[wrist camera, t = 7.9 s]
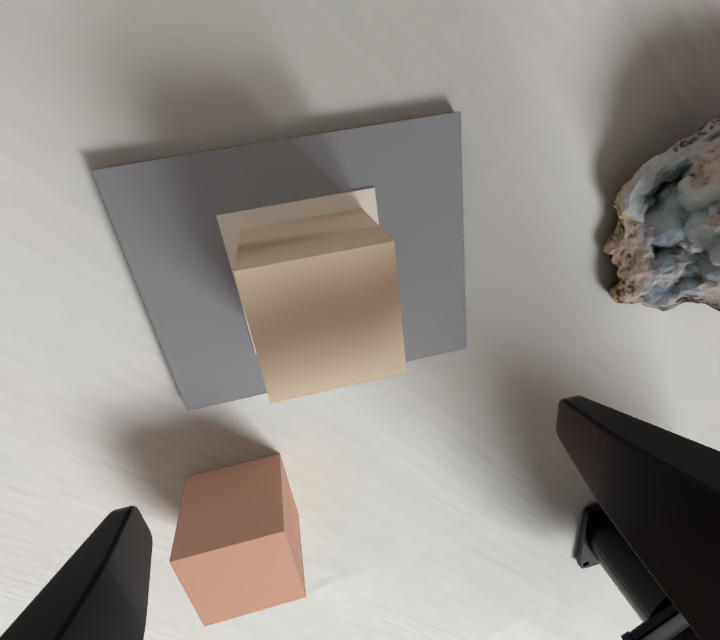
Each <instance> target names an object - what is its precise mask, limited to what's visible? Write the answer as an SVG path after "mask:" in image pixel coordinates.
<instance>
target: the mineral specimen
mask: <svg viewBox="0 0 720 640" xmlns="http://www.w3.org/2000/svg"><path fill="white" fill-rule="evenodd" d="M612 206H613V207H615V208H616V209H617V214H618V218H619V220H618V223H617V226H616V229H615V231H614V232H613V233H612V234H611V235H610V236H609V238H608V241H607V243H606V245H605V246H604V247H603V252H605V253H607V254H608V255H609V257H610V258H611V261H612V263H613V264H614V265H616V266H617V267H618V271H617V276H618V278H619V282H618V283H617V285H615V286H613V287H612V288H610V289H609V290H608V293H609V295H610V296H611V297H612V299H613V300H614V301H615V302H616V303H620V304H635V303H642V304H643V305H644V306H647V307H652V308H656V309H659V310H661V311H666V310H670V309H673V308H674V307H676V306H678V305H679V304H681V303H684V302H694V303H705V304H707V305H709V306H710V307H712V308H714V309H716V310H718V311H720V117H714V118H713V119H711V120H710V121H709V122H707V123H706V124H705V125H704V126H703V127H702V128H701V129H700V130H698V131H697V132H695V133H693V134H691V135H689V136H687V137H684V138H682V139H680V140H679V141H678V142H677V143H675V144H674V145H673V146H672V147H671V148H669V149H668V150H667V151H666V152H665V153H662V154H659V155H656V156H654V157H653V158H651V159H650V160H649V161H647V162H646V163H645V164H643V165H642V166H641V168H640V169H639V170H637V171H636V172H635V174H634V175H633V177H632V179H630V180H629V181H627V182H626V183H625V184H624V185H623V186H622V188H621V190H620V191H619V193H618V195H617V196H616V198H615V201H614V203H613V205H612Z"/></svg>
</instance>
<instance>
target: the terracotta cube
mask: <svg viewBox="0 0 720 640" xmlns="http://www.w3.org/2000/svg"><path fill="white" fill-rule="evenodd" d="M170 564H171V566H172V568H173V570H174V571H175V573H176V575H177V577H178V579H179V581H180V583H181V584H182V586H183V588H184V590H185V592H186V594H187V595H188V597H189V599H190V601H191V603H192V605H193V606H194V608H195V610H196V612H197V614H198V616H199V617H200V619H201V621H202V623H203V625H204V626H207V625H210V624H214V623H217V622H221V621H224V620H228V619H231V618H235V617H238V616H242V615H245V614H249V613H252V612H256V611H259V610H262V609H266V608H269V607H273V606H276V605H280V604H283V603H287V602H290V601H294V600H297V599H301V598H304V597H306V591H305V580H304V569H303V558H302V547H301V537H300V526H299V515H298V512H297V508H296V505H295V502H294V499H293V495H292V492H291V489H290V485H289V482H288V479H287V475H286V472H285V469H284V465H283V462H282V459H281V455H280V454H276V455H272V456H268V457H264V458H260V459H256V460H252V461H248V462H244V463H240V464H236V465H232V466H228V467H224V468H220V469H216V470H212V471H208V472H204V473H200V474H196V475H192V476H187V477H186V482H185V487H184V492H183V497H182V502H181V507H180V512H179V517H178V522H177V527H176V532H175V537H174V542H173V547H172V552H171V557H170Z"/></svg>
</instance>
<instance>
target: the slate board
mask: <svg viewBox="0 0 720 640" xmlns="http://www.w3.org/2000/svg"><path fill="white" fill-rule="evenodd" d="M92 174H93V176H94V179H95V181H96V184H97V186H98V189H99V191H100V194H101V196H102V199H103V201H104V204H105V206H106V209H107V211H108V214H109V216H110V219H111V221H112V224H113V226H114V229H115V231H116V234H117V236H118V239H119V241H120V244H121V246H122V249H123V251H124V254H125V257H126V259H127V262H128V264H129V267H130V269H131V272H132V274H133V277H134V279H135V282H136V284H137V287H138V289H139V292H140V294H141V297H142V299H143V302H144V304H145V307H146V309H147V312H148V314H149V317H150V319H151V322H152V324H153V327H154V329H155V332H156V334H157V337H158V339H159V342H160V344H161V347H162V349H163V352H164V354H165V357H166V359H167V362H168V364H169V367H170V369H171V372H172V374H173V377H174V379H175V382H176V384H177V387H178V389H179V392H180V394H181V397H182V399H183V402H184V404H185V407H186V409H187V411H189V410H194V409H198V408H203V407H207V406H211V405H216V404H220V403H225V402H229V401H234V400H238V399H242V398H247V397H251V396H256V395H260V394H264V393H267V389H266V386H265V382H264V379H263V375H262V372H261V368H260V364H259V361H258V357H257V354H256V350H255V347H254V343H253V339H252V336H251V332H250V329H249V325H248V321H247V318H246V314H245V311H244V307H243V304H242V300H241V296H240V293H239V289H238V286H237V282H236V279H235V275H234V266H235V260H236V254H237V248H238V242H239V236H240V230H241V229H247V228H252V227H258V226H264V225H269V224H275V223H281V222H286V221H292V220H297V219H303V218H309V217H314V216H320V215H326V214H331V213H337V212H342V211H348V210H354V209H359V208H362V209H363V210H364V211H365V212H366V213H367V214H368V215H369V216H370V217H371V218H372V219H373V220H374V221H375V222H376V223H377V224H378V225H379V226H380V227H381V228H382V229H383V230H384V231H385V232H386V233H387V234H388V235H389V236H390V237H391V238H392V239H393V241H394V245H395V256H396V266H397V277H398V287H399V297H400V308H401V318H402V329H403V339H404V350H405V360H406V361H410V360H415V359H419V358H424V357H428V356H432V355H437V354H441V353H446V352H450V351H455V350H459V349H463V348H466V326H465V283H464V241H463V199H462V156H461V114H460V112H449V113H443V114H436V115H430V116H424V117H417V118H411V119H405V120H399V121H392V122H386V123H380V124H374V125H367V126H361V127H355V128H348V129H342V130H336V131H330V132H323V133H317V134H311V135H305V136H298V137H292V138H286V139H279V140H273V141H267V142H261V143H254V144H248V145H242V146H236V147H229V148H223V149H217V150H210V151H204V152H198V153H192V154H185V155H179V156H173V157H167V158H160V159H154V160H148V161H141V162H135V163H129V164H123V165H116V166H110V167H104V168H98V169H95V170H92Z"/></svg>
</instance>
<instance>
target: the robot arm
mask: <svg viewBox="0 0 720 640" xmlns="http://www.w3.org/2000/svg"><path fill="white" fill-rule="evenodd" d="M556 431H557V435H558V437H559V439H560V441H561V443H562V445H563V446H564V448H565V449H566V451H567V453H568V454H569V456H570V458H571V459H572V461H573V463H574V464H575V466H576V468H577V469H578V471H579V473H580V474H581V476H582V478H583V479H584V481H585V483H586V484H587V486H588V488H589V489H590V491H591V492H592V494H593V496H594V497H595V499H596V500H597V502H598V503H599V504H597V505H593V506H590V507H588V508H587V509H586V510H585V512H584V517H583V524H582V530H581V537H580V543H579V550H578V556H577V563H578V565H579V566H580V567H581V568H587V567H590V566H594V565H597V564H601V566H602V567H603V568H604V570H605V571H606V572H607V574H608V575H609V577H610V578H611V579H612V581H613V582H614V583H615V585H616V586H617V587H618V589H619V590H620V591H621V593H622V594H623V596H624V597H625V598H626V600H627V601H628V602H629V604H630V605H631V606H632V608H633V609H634V610H635V612H636V613H637V615H638V616H639V617H640V619H641V620H642V621H643V623H642V624H641V625H639V626H638V627H636V628H635V629H633V630H632V631H631V632H628V631H627V632H626V633H625V634H623V635H622V636H621V637H622V639H623V640H720V451H717V450H715V449H712V448H710V447H707V446H705V445H702V444H700V443H697V442H695V441H692V440H690V439H687V438H685V437H682V436H680V435H677V434H675V433H672V432H670V431H667V430H665V429H662V428H660V427H657V426H655V425H652V424H650V423H647V422H645V421H642V420H640V419H637V418H635V417H632V416H630V415H627V414H624V413H622V412H619V411H617V410H614V409H612V408H609V407H607V406H604V405H602V404H599V403H597V402H594V401H592V400H589V399H587V398H584V397H582V396H572V397H568V398H564V399H562V400H560V402H559V404H558V413H557V423H556ZM151 555H152V535H151V532H150V530H149V528H148V526H147V524H146V522H145V521H144V519H143V517H142V515H141V513H140V511H139V510H138V508H137V507H135V506H129V507H125V508H120V509H116V510H114V511H112V512H111V513H110V514H109V515H108V516H107V517H106V518H105V519H104V520H103V521H102V522H101V524H100V525H99V526H98V527H97V528H96V529H95V530H94V532H93V533H92V534H91V535H90V536H89V537H88V538H87V539H86V541H85V542H84V543H83V544H82V545H81V546H80V547H79V548H78V550H77V551H76V552H75V553H74V554H73V555H72V556H71V558H70V559H69V560H68V561H67V562H66V563H65V564H64V565H63V567H62V568H61V569H60V570H59V571H58V572H57V573H56V575H55V576H54V577H53V578H52V579H51V580H50V581H49V582H48V584H47V585H46V586H45V587H44V588H43V589H42V590H41V591H40V593H39V594H38V595H37V596H36V597H35V598H34V599H33V601H32V602H31V603H30V604H29V605H28V606H27V607H26V608H25V610H24V611H23V612H22V613H21V614H20V615H19V616H18V617H17V619H16V620H15V621H14V622H13V623H12V624H11V625H10V627H9V628H8V629H7V630H6V631H5V632H4V633H3V634H2V636H1V637H0V640H143V638H144V632H145V625H146V616H147V605H148V592H149V580H150V568H151Z"/></svg>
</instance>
